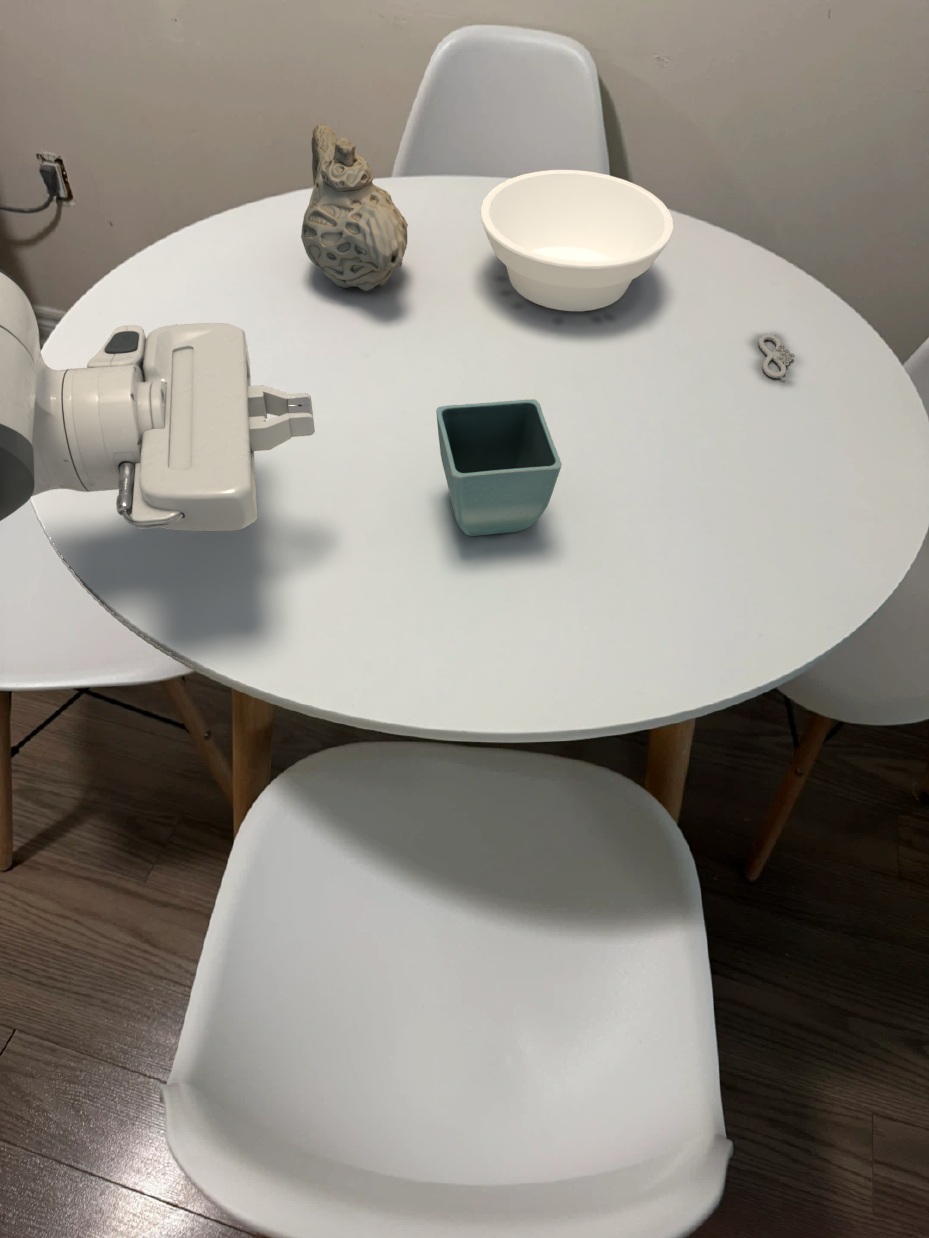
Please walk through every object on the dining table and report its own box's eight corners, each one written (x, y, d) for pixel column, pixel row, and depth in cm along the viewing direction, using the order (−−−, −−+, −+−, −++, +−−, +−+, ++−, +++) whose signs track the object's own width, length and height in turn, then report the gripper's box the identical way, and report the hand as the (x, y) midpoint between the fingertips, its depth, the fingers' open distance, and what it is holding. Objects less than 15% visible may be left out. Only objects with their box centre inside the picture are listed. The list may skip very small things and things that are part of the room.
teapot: (440, 311, 97) (441, 172, 85) (342, 335, 94) (329, 194, 82) (366, 221, 109) (359, 88, 97) (277, 239, 105) (258, 104, 93)
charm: (758, 330, 96) (790, 333, 95) (756, 334, 96) (789, 337, 96) (765, 374, 91) (800, 378, 90) (764, 379, 91) (798, 382, 91)
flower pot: (528, 476, 81) (538, 396, 74) (551, 545, 76) (563, 466, 69) (434, 485, 80) (434, 405, 73) (450, 556, 74) (452, 477, 67)
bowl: (451, 251, 105) (453, 181, 99) (610, 226, 110) (621, 159, 103) (516, 351, 93) (523, 280, 86) (691, 319, 98) (710, 249, 91)
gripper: (101, 493, 56) (320, 475, 58) (120, 312, 68) (300, 302, 70) (126, 560, 61) (327, 541, 63) (140, 380, 73) (307, 369, 75)
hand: (313, 413), depth 67 cm, fingers closed
